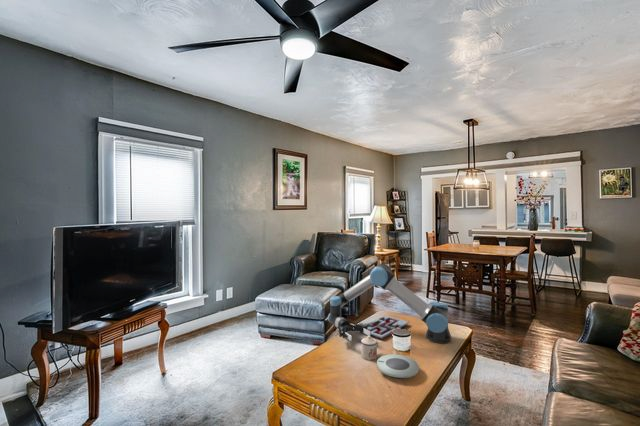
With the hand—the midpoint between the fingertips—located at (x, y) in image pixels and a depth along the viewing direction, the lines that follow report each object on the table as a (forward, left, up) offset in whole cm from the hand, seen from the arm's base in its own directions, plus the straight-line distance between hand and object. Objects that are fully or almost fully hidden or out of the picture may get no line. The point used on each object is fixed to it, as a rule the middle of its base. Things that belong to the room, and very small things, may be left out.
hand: (360, 336), depth 186 cm
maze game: (-9, -35, -8) cm, 37 cm away
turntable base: (-23, +20, -8) cm, 31 cm away
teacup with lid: (-7, +7, -8) cm, 13 cm away
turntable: (-23, +20, -5) cm, 31 cm away
